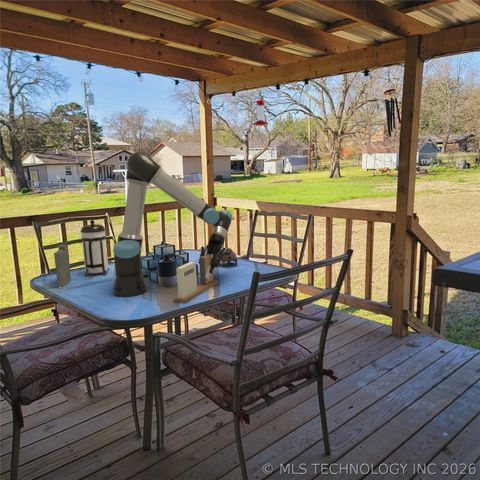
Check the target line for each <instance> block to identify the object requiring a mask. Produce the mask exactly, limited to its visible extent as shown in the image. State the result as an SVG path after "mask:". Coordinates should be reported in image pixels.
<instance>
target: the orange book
mask: <svg viewBox="0 0 480 480" xmlns="http://www.w3.org/2000/svg"><path fill="white" fill-rule="evenodd" d="M212 257H213V254H212V255H210V254H207V255H206V254H205V256H203V257H200V256H199V258H198V262H199V263H200V264H199V263H198V264H199V274H200V278H199V279H200V281H199V282H200V283H201V284H203V285H206V284H207V283H209V282H211V281H212V280H214V274H213V273H214V272H213V273H211V274H210V277H209V280H207V279H206V278H205V276H206V273H207V270H208V267H209V265H211V262H212Z"/></svg>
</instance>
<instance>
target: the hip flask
mask: <svg viewBox="0 0 480 480" xmlns="http://www.w3.org/2000/svg"><path fill="white" fill-rule="evenodd" d="M57 248H58V250H57V251H55V252H53V257H54V267H55V275H56V281H57V282H56V283H57V288H58V287H64V286H66V285H67V284H68V283H69V282H70V281H71V282H72V278H71V277H72V276H71V269H70V260H69V252H68V247H66V244H60V245H59V244H58V245H57ZM71 282H70V283H71ZM70 283H69V284H70ZM69 284H68V285H69ZM68 285H67V286H68ZM67 286H66V287H67ZM64 288H65V287H64Z"/></svg>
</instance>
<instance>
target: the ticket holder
mask: <svg viewBox="0 0 480 480" xmlns="http://www.w3.org/2000/svg"><path fill="white" fill-rule="evenodd" d="M196 266H197V263H196V261H190V262H187V263H184V264H182V265H181V266H178V267H176V282H177V283H176V284H177V296H175V297H173V303H182V304H187V303H188V302H190V301H192V300H193V299H195V298H197V297H198V296H200V295H201V294H204V293H205V292H206V291H208V290H209V289H211V288H212V287H214V286H217V284H218V283H219V282H218V280H216V279H213V280H212V281H211V282H209V283H207V284H206V285H203V284H201V282H200V283H198V280H197V267H196Z"/></svg>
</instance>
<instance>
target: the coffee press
mask: <svg viewBox="0 0 480 480" xmlns="http://www.w3.org/2000/svg"><path fill="white" fill-rule="evenodd" d="M89 223H90V224H87V225H83V226H82V227H81V229H80V233H81V238H80V239H81V241H82V250H83V251H82V253H83V260H84V261H83V262H84V268H85V269H84V270H85V273H84V276H85V277H87V276H88V277H89V275H91V274H102V275H103V274H104V275H103V276H106V275H107V271H106V270H109V271H110V268H109V260H108V252H107V240H106V239H107V236H106V228H105V226H104V225H102V224H100V223H98V224H97V223H95V220H93V219H91V220H90V221H89Z"/></svg>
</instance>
